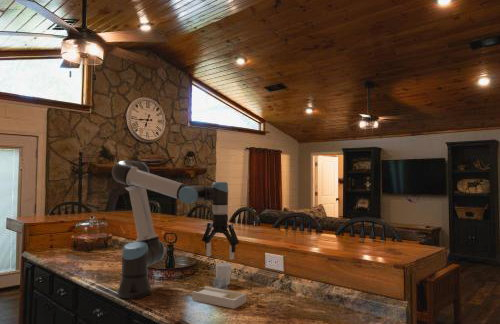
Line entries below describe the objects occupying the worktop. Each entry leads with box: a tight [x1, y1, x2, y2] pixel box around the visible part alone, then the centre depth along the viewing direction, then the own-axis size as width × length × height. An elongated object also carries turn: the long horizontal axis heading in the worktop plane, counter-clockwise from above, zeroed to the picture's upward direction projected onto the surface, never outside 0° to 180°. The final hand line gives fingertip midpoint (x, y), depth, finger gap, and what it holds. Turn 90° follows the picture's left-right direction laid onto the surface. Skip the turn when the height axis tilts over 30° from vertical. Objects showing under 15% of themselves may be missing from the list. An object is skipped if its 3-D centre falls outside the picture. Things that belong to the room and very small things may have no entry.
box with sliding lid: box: [191, 286, 247, 309], centre depth 168 cm, size 22×10×4 cm, turn 60°
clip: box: [212, 276, 227, 289], centre depth 181 cm, size 4×4×4 cm
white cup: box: [215, 262, 232, 286], centre depth 195 cm, size 8×8×10 cm
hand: (220, 257), depth 182 cm, fingers open, 13 cm apart
